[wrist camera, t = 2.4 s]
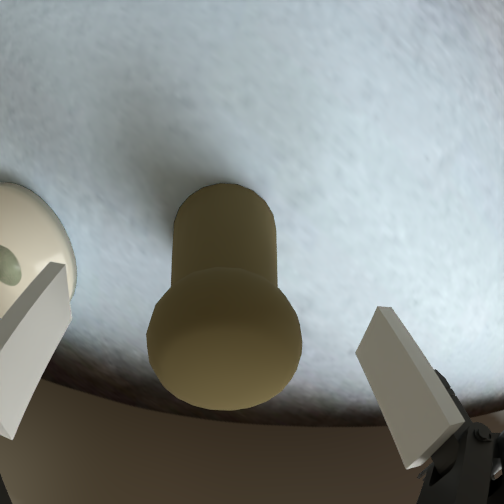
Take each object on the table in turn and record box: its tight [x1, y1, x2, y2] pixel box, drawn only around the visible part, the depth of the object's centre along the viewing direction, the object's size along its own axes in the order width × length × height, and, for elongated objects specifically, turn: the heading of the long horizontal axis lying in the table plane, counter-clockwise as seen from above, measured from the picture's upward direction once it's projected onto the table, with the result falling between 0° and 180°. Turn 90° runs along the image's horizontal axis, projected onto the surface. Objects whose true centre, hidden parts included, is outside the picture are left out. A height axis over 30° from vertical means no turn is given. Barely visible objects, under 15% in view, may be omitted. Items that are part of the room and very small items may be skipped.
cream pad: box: [0, 182, 77, 319], centre depth 17 cm, size 11×11×2 cm
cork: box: [146, 183, 302, 410], centre depth 14 cm, size 6×6×11 cm
